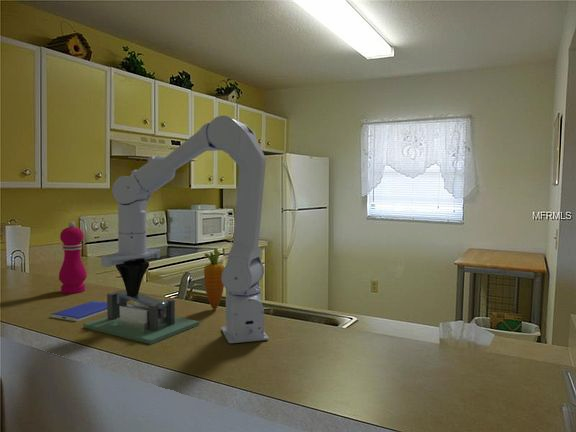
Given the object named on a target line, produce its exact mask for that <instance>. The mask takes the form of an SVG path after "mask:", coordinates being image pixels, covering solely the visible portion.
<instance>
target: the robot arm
mask: <svg viewBox="0 0 576 432" xmlns="http://www.w3.org/2000/svg"><path fill="white" fill-rule="evenodd" d="M209 151H211V152H212V151H213V152H214V151H215V152H216V151H223V152H224V153H226V154H228V156H229V157H230V158H231V159H232V160H233V162H235V163H236V164H237V165H238V166H239V170H238V179H237V180H238V181H237V192H236V193H237V194H236V205H235V216H234V229H233V239H232V240H233V241H232V246H231V248H230V250H229V253H228V255H227V262H226V264H225V266H224V269H223V272H222V277H221V278H222V283H223V285H224V288H225V326H221V331H222V332H223V334H224V337H225V338H226V340H227V342H228V344H238V343H249V342H250V343H251V342H258V341H259V342H260V341H268V340H269V339H270V337H269V336H268V335H267V333H266V332H265V309H264V306H263V304H262V287H261V285H260V281H261V280H262V279H263V277H264V275H265V267H264V265H263V262H262V250H261V248H260V246H259V243H260V242H259V240H260V229H261V221H262V220H261V219H262V210H263V209H262V208H263V197H264V185H265V178H266V177H265V176H266V175H265V174H266V166H267V165H266V164H267V163H266V162H267V161H266V159H267V158H266V156H265V154H264V151H263V150H262V147H261V145H260V144H259V141H258V139H257V135H256V132H254V131H253V130H252V129H251V128H250V126H248V125H247V124H246V123H244V122H241V121H238V120H235V119H233V118H232V117H230V116H228V115H219V116H215V117H214V118H213V119H211V121H210V122H207V123H205V124H203V125H202V126H201V127H200V128H199V130H197V131H196V132H195V133H193V134H192V136H190V137H189V138H188V139H186V140H185V141H184V142H183V143H182V144H180V145H179V146H178V147H176V148H175V149H174V150H173V151H172V152H170V153H169V154H167V155H166V156H161V155H157V156H150V157H148V158H147V163H145V164H143V165H142V166H141V167H139V168H138V169H133V170H132V171H130V175H129V176H127V175H126V176H125V175H121V176H118V178H117V179H115V181H114V183H113V185H112V188H111V189H112V190H111V192H112V196H113V198H114V200H115V201H116V202H117V209H118V210H117V219H118V220H117V226H118V227H117V228H118V229H117V230H118V233H117V235H118V236H117V237H118V240H117V241H118V249H117V250H118V251H116V252H115V253H111V254H108V255H104V256H103V255H102V256H100V266H101V267H106V268H111V267H112V266H115V268H116V269H117V272H118V273H119V274H120V276H121V278H122V282H123V285H124V287H125V290H126V292H127V294H128V295H132V296H134V295H138V293H140V288H141V284H142V281H143V279H144V275H145V273H146V272H147V270H148V268H149V267H150V262H149V261H148V260H150V259H160V258H161V249H159V248H150V249H149V248H147V208H148V207H147V205H148V202H149V200H150V198H151V196H152V194H153V193H154V192H156V191H158V190H159V189H160V188H162V187H163V186H164V185H166V184H168V183H169V182H171V181H172V180H173V179H174V178H175V176H176V171H177V170H178V169H179V168H180V167H183V166H184V165H186V164H188V163H189V162H190V161H193V160H194V159H196V158H197V157H198V156H201V155H202V154H203V153H206V152H209ZM146 260H147V261H146Z"/></svg>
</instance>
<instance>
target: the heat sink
mask: <svg viewBox="0 0 576 432" xmlns="http://www.w3.org/2000/svg"><path fill="white" fill-rule="evenodd" d="M164 324H167V318H166V307H165V308H162V309H159V310H158V326H161V325H164ZM117 325H118V326H123V327H127V328H131V329H136V330H140V331H144V332H145V331H147V330H150V324H149V306H148V305H145V304H142V303H139V302H136V301H134V303H130V302H129V303H127V306H123V305H121V306H120V317H118V318H117Z"/></svg>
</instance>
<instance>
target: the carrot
mask: <svg viewBox="0 0 576 432" xmlns="http://www.w3.org/2000/svg"><path fill="white" fill-rule="evenodd" d="M204 256H205V257H207V258H208V259H209V262H210V263H208V264H206V265H204V270H203V272H204V273H203V275H204V288H205V293H206V297H207V300H208V301H209V304H210V307H211V308H212V309H213V310H216V309H217V308H218V306H219V305H220V302H221V300H222V297H223V294H224V288H225V287H224V285H223V283H222V278H221V277H222V272H223V269H224V268H225V266H224V264H221V263H218V261H219V257H220V256H221V252H220V251H219V249H218V248H213V252H212V251H211V252H209V254H208V253H206V252H205V253H204Z"/></svg>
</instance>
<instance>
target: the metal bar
mask: <svg viewBox="0 0 576 432" xmlns="http://www.w3.org/2000/svg"><path fill="white" fill-rule="evenodd" d="M120 291H121V290H120ZM116 292H117V291H116ZM130 301H134V302H139V303H142V304H145V305H148V306H149V305H152V304H154V305H158V310H159V309H162V308H165V307H168V306H169V305H170V304H169V302H168V301H166V300H165V301H164V300H162V299H158V298H156V297H151V296H148V295H146V294H143V293H140V292H139V293H138V295H134V296H132V295H128V294H127V292H126V289H125V290H122V291H121V292H117V303H118V304H121V303H124V302H127V303H128V302H130Z"/></svg>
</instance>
